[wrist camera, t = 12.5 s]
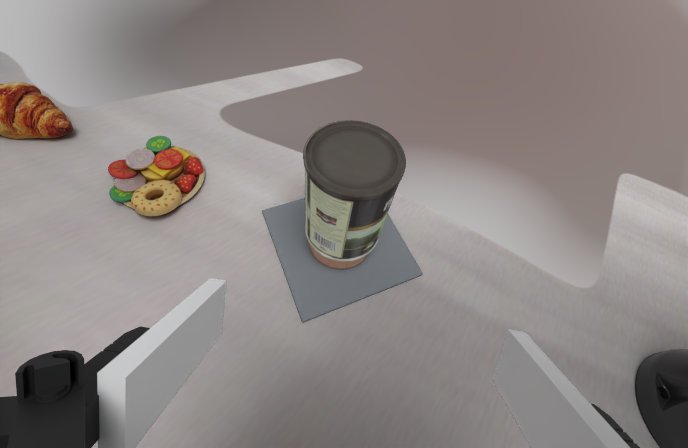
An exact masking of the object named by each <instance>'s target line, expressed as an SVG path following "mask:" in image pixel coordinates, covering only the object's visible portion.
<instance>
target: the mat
mask: <svg viewBox="0 0 688 448" xmlns="http://www.w3.org/2000/svg"><path fill="white" fill-rule="evenodd" d="M262 212H263V215H264V218H265V220H266V223H267V226H268V229H269V231H270V234H271V237H272V240H273V242H274V245H275V248H276V251H277V253H278V256H279V259H280V262H281V264H282V267H283V270H284V273H285V275H286V278H287V281H288V284H289V286H290V289H291V292H292V295H293V298H294V300H295V303H296V306H297V309H298V311H299V314H300V317H301V320H302V322H306V321H308V320H311V319H313V318H316V317H318V316H321V315H323V314H326V313H328V312H331V311H333V310H336V309H338V308H341V307H344V306H346V305H349V304H351V303H354V302H356V301H359V300H361V299H364V298H366V297H369V296H371V295H374V294H376V293H379V292H381V291H384V290H386V289H389V288H391V287H394V286H396V285H399V284H401V283H404V282H406V281H409V280H411V279H414V278H416V277H419V276H421V275H422V274H423V273H422V272H421V270H420V268H419V266H418V265H417V263H416V261H415V260H414V258H413V256H412V254H411V253H410V251H409V249H408V248H407V246H406V244H405V242H404V241H403V239H402V237H401V236H400V234H399V232H398V230H397V229H396V227H395V225H394V224H393V222H392V220H391V218H390V217H389V215H388V213H387V216H386V219H385V221H384V224H383V227H382V230H381V232H380V236H379V240H378V242H377V244H376V246H375V247H374V249H373V250H372V251H371V252H370V253H369V254H368V255H367V257H366V258H365V259H364V260H363V262H361V263H360V264H359V265H357V266H355V267H353V268H349V269H342V270H340V269H333V268H330V267H327V266H325V265H323V264H322V263H320V262H319V261H318V260H317V259H316V258H315V257H314V255H313V254H312V252H311V249H310V245H309V242H308V239H307V236H306V232H305V222H306V204H305V199H301V200H298V201H294V202H290V203H287V204H283V205H280V206H276V207H273V208H269V209H266V210H262Z"/></svg>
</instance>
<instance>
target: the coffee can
mask: <svg viewBox="0 0 688 448" xmlns="http://www.w3.org/2000/svg"><path fill="white" fill-rule="evenodd" d="M303 159H304V166H305V204H306V222H305V232H306V236H307V239H308V241H309V243H310V245H311V246H312V247H313V249H315V250H316V251H317V252H318V253H319V254H321V255H322V256H324V257H326V258H329V259H332V260H335V261H354V260H357V259H360V258H362V257H364V256H366V255H367V254H369V253H370V252H371V251H372V250H373V249H374V247H375V246H376V244H377V242H378V240H379V236H380V232H381V230H382V227H383V224H384V221H385V219H386V216H387V213H388V211H389V208H390V205H391V203H392V200H393V198H394V195H395V192H396V189H397V187H398V184H399V182H400V180H401V179H402V177H403V174H404V171H405V167H406V159H405V154H404V151H403V149H402V147H401V146H400V144H399V143H398V141H397V140H396V139H395V138H394V137H393V136H392V135H391V134H389V133H388V132H387V131H385V130H383V129H382V128H380V127H378V126H375V125H372V124H370V123H365V122H361V121H338V122H334V123H330V124H327V125H325V126H323V127H321V128H319V129H318V130H316V131H315V132H314V133H313V134H312V135H311V136H310V137H309V139H308V140H307V142H306V144H305V147H304V151H303Z"/></svg>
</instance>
